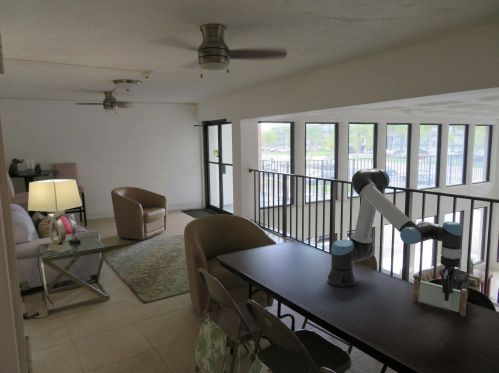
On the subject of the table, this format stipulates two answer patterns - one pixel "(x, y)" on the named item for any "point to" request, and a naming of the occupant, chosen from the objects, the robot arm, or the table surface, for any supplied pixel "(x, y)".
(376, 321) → the table surface
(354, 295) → the table surface
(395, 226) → the robot arm
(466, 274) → the camera
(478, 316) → the table surface
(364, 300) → the table surface
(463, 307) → the post
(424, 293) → the gate
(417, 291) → the hinge post
